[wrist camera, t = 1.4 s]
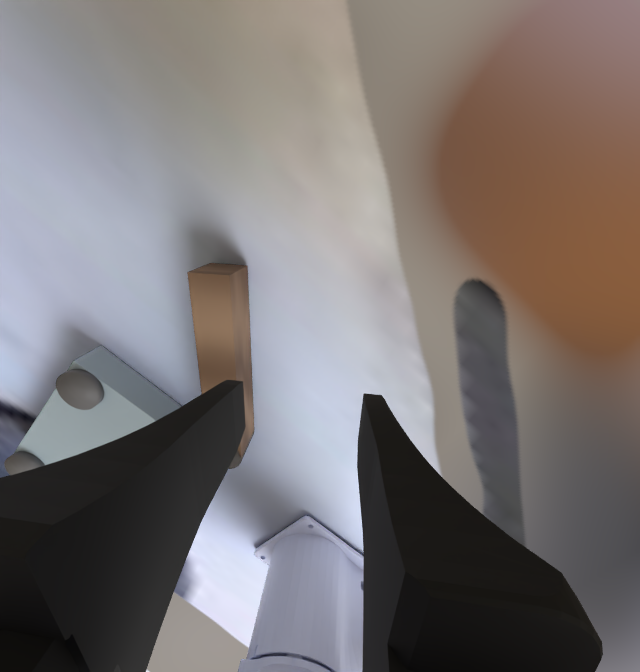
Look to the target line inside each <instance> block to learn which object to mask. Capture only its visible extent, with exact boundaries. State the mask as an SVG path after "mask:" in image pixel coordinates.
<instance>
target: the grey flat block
mask: <svg viewBox="0 0 640 672" xmlns="http://www.w3.org/2000/svg"><path fill="white" fill-rule="evenodd" d="M180 407H182V406H181V405H179V404H178V403H177V402H175V401H174V400H173V399H172V398H170V397H169V396H168V395H166V394H165V393H164V392H162V391H161V390H160V389H158V388H157V387H156V386H154V385H153V384H152V383H150V382H149V381H148V380H146V379H145V378H144V377H142V376H141V375H140V374H138V373H137V372H136V371H134V370H133V369H132V368H131V367H129V366H128V365H127V364H125V363H124V362H123V361H121V360H120V359H119V358H117V357H116V356H115V355H113V354H112V353H111V352H109V351H108V350H107V349H105V348H104V347H103V346H99V347H97V348H96V349H94V350H92V351H90V352H88V353H86V354H85V355H83V356H81V357H79V358H77V359H76V360H74V361H73V362H72V364H71V366H70V367H69V369H68V370H67V372H65V373H63V374H62V375H60V376H59V377H58V378H57V381H56V389H55V390H54V392H53V393H52V395H51V397H50V398H49V400H48V401H47V403H46V404H45V406H44V407H43V409H42V411H41V412H40V414H39V415H38V417H37V418H36V420H35V421H34V423H33V425H32V426H31V428H30V429H29V431H28V432H27V434H26V435H25V437H24V439H23V440H22V442H21V443H20V445H19V446H18V448H17V449H16V451H15V453H14V454H13V455H11V456H10V457H9V458H7V459H6V460H5V468H6V470H7V472H8V473H9V474H10V475H13V474H17V473H21V472H24V471H28V470H31V469H35V468H38V467H41V466H44V465H47V464H51V463H54V462H57V461H60V460H63V459H66V458H69V457H72V456H75V455H78V454H80V453H83V452H86V451H88V450H91V449H93V448H96V447H99V446H101V445H104V444H106V443H109V442H111V441H114V440H116V439H119V438H121V437H123V436H126V435H128V434H130V433H132V432H134V431H137V430H139V429H141V428H143V427H145V426H147V425H149V424H151V423H153V422H155V421H157V420H158V419H160V418H162V417H164V416H166V415H167V414H169V413H171V412H173V411H175V410H177V409H178V408H180Z"/></svg>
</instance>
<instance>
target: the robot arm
mask: <svg viewBox="0 0 640 672" xmlns="http://www.w3.org/2000/svg"><path fill="white" fill-rule="evenodd" d="M245 428H246V424H245V405H244V387H243V381H236V380H225V381H223V382H221V383H220V384H218V385H216V386H215V387H213V388H211V389H210V390H208V391H207V392H205V393H203V394H202V395H200V396H198V397H197V398H195V399H193V400H192V401H190V402H189V403H187V404H185V405H184V406H182V407H180V408H178V409H177V410H175V411H173V412H171V413H169V414H167V415H166V416H164V417H162V418H160V419H158V420H157V421H155V422H153V423H151V424H149V425H147V426H145V427H143V428H141V429H139V430H137V431H134V432H132V433H130V434H128V435H126V436H123V437H121V438H119V439H116V440H114V441H111V442H109V443H106V444H104V445H101V446H99V447H96V448H93V449H91V450H88V451H86V452H83V453H80V454H78V455H75V456H72V457H69V458H66V459H63V460H60V461H57V462H54V463H51V464H47V465H44V466H41V467H38V468H35V469H31V470H28V471H24V472H21V473H17V474H13V475H10V476H6V477H2V478H0V672H146V669H147V666H148V663H149V660H150V657H151V654H152V651H153V648H154V645H155V642H156V639H157V636H158V634H159V631H160V628H161V625H162V622H163V620H164V617H165V614H166V611H167V608H168V606H169V603H170V600H171V598H172V594H173V592H174V589H175V587H176V584H177V581H178V579H179V576H180V574H181V571H182V568H183V566H184V563H185V561H186V558H187V555H188V553H189V550H190V548H191V545H192V543H193V541H194V538H195V536H196V533H197V531H198V528H199V526H200V523H201V521H202V519H203V517H204V515H205V513H206V511H207V509H208V507H209V505H210V503H211V501H212V499H213V497H214V495H215V493H216V491H217V489H218V487H219V486H220V484H221V482H222V480H223V478H224V476H225V474H226V472H227V470H228V468H229V466H230V464H231V462H232V460H233V458H234V456H235V454H236V452H237V450H238V447H239V445H240V442H241V439H242V436H243V433H244V431H245ZM357 468H358V481H359V493H360V504H361V516H362V527H363V546H364V557H363V556H362V555H361V554H359V553H358V552H357V551H355V550H354V549H353V548H351V547H350V546H349V545H347V544H346V543H345V542H343V541H342V540H341V539H339V538H338V537H337V536H335V535H334V534H333V533H331V532H330V531H329V530H327V529H326V528H325V527H323V526H322V525H320V524H319V523H318V522H316V521H315V520H314V519H312V518H311V517H309V516H304V517H302V518H301V519H299V520H298V521H296V522H295V523H293V524H292V525H290V526H289V527H287V528H286V529H284V530H283V531H281V532H280V533H278V534H277V535H276V536H274V537H273V538H271V539H270V540H268V541H267V542H265V543H264V544H262V545H261V546H259V547H258V548H256V549H255V552H254V555H255V556H256V557H257V558H259V559H260V560H261V561H263V562H264V563H266V564H267V565H269V568H268V572H267V576H266V580H265V584H264V589H263V593H262V597H261V601H260V605H259V609H258V613H257V617H256V621H255V626H254V630H253V634H252V638H251V642H250V646H249V650H248V654H247V658H246V659H241V661H240V665H239V669H238V672H595V671H596V669H597V667H598V665H599V663H600V661H601V658H602V655H603V652H602V641H601V640H600V638H599V636H598V634H597V632H596V631H595V629H594V627H593V625H592V623H591V622H590V620H589V618H588V616H587V614H586V612H585V610H584V609H583V607H582V605H581V603H580V601H579V600H578V598H577V596H576V595H575V593H574V592H573V590H572V589H571V587H570V586H569V584H568V582H567V581H566V579H565V578H564V576H563V574H562V573H561V572H560V571H558V570H557V569H555V568H554V567H553V566H551V565H550V564H548V563H547V562H546V561H544V560H543V559H541V558H540V557H538V556H537V555H536V554H534V553H533V552H531V551H530V550H528V549H527V548H526V547H524V546H523V545H521V544H520V543H518V542H517V541H516V540H514V539H513V538H512V537H510V536H509V535H508V534H506V533H505V532H504V531H503V530H501V529H500V528H499V527H497V526H496V525H495V524H494V523H492V522H491V521H490V520H489V519H487V518H486V517H485V516H484V515H483V514H481V513H480V512H479V511H478V510H477V509H475V508H474V507H473V506H472V505H471V504H470V503H469V502H467V501H466V500H465V499H464V498H463V497H462V496H461V495H460V494H459V493H457V491H455V490H454V489H453V488H452V487H451V486H450V485H449V484H448V483H447V482H446V481H445V480H444V479H443V478H442V477H441V476H440V475H439V474H438V473H437V471H436V470H435V469H434V468H433V467H432V466H431V465H430V464H429V463H428V462H427V460H426V459H425V458H424V457H423V456H422V454H421V453H420V452H419V451H418V449H417V448H416V447H415V445H414V444H413V443H412V441H411V440H410V439H409V437H408V436H407V435H406V433H405V432H404V430H403V429H402V427H401V426H400V424H399V423H398V421H397V420H396V418H395V417H394V415H393V413H392V412H391V410H390V408H389V407H388V405H387V403H386V401H385V399H384V398H383V397H382V395H374V394H364V396H363V404H362V412H361V420H360V428H359V436H358V460H357Z"/></svg>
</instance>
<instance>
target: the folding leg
mask: <svg viewBox="0 0 640 672" xmlns="http://www.w3.org/2000/svg"><path fill="white" fill-rule="evenodd" d="M188 280H189V289H190V298H191V306H192V315H193V323H194V332H195V340H196V349H197V358H198V366H199V375H200V383H201V392H202V394H203V393H205V392H207V391H208V390H210V389H211V388H213V387H215V386H216V385H218V384H220V383H221V382H223V381H225V380H236V381H243V387H244V405H245V424H246V428H245V431H244V433H243V436H242V439H241V442H240V445H239V447H238V450H237V452H236V454H235V456H234V458H233V460H232V462H231V464H230V466H229V468H228V469H232V468H235V467H237V466H238V465H239V464H240V463H241V461H242V458H243V456H244V454H245V452H246V449H247V447H248V445H249V443H250V441H251V438H252V436H253V434H254V413H253V389H252V365H251V341H250V316H249V292H248V268H247V266H246V265H232V264H218V263H210V264H207V265H205V266H202V267H200V268H197V269H195V270H192V271H190V272H188Z"/></svg>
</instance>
